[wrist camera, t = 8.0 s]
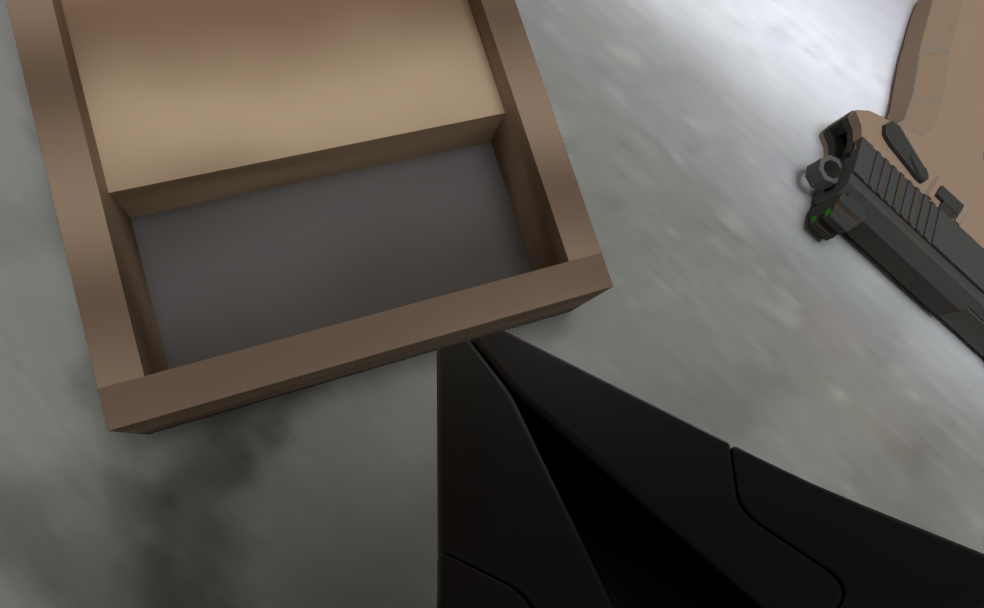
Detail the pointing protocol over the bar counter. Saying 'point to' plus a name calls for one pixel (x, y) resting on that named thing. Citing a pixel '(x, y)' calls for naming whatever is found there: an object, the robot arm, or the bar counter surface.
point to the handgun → (918, 169)
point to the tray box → (296, 189)
